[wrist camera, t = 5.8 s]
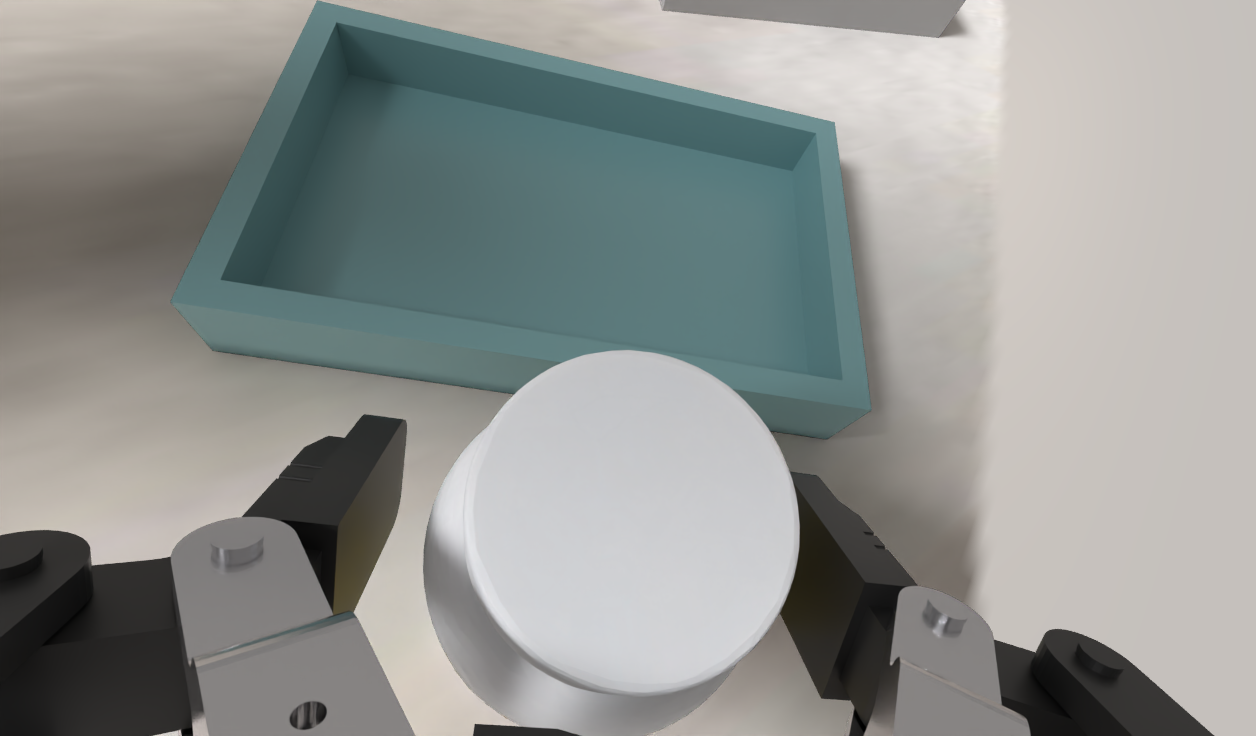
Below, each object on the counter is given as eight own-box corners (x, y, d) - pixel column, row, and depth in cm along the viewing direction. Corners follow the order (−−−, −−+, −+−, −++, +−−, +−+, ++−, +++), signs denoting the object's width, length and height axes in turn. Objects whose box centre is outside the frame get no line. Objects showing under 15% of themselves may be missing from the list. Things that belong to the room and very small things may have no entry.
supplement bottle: (539, 449, 17) (595, 230, 8) (695, 566, 16) (926, 461, 8) (399, 618, 14) (274, 553, 6) (579, 763, 14) (732, 925, 5)
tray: (212, 350, 16) (170, 301, 14) (334, 68, 21) (317, 0, 19) (827, 439, 19) (871, 409, 17) (802, 171, 24) (834, 122, 22)
